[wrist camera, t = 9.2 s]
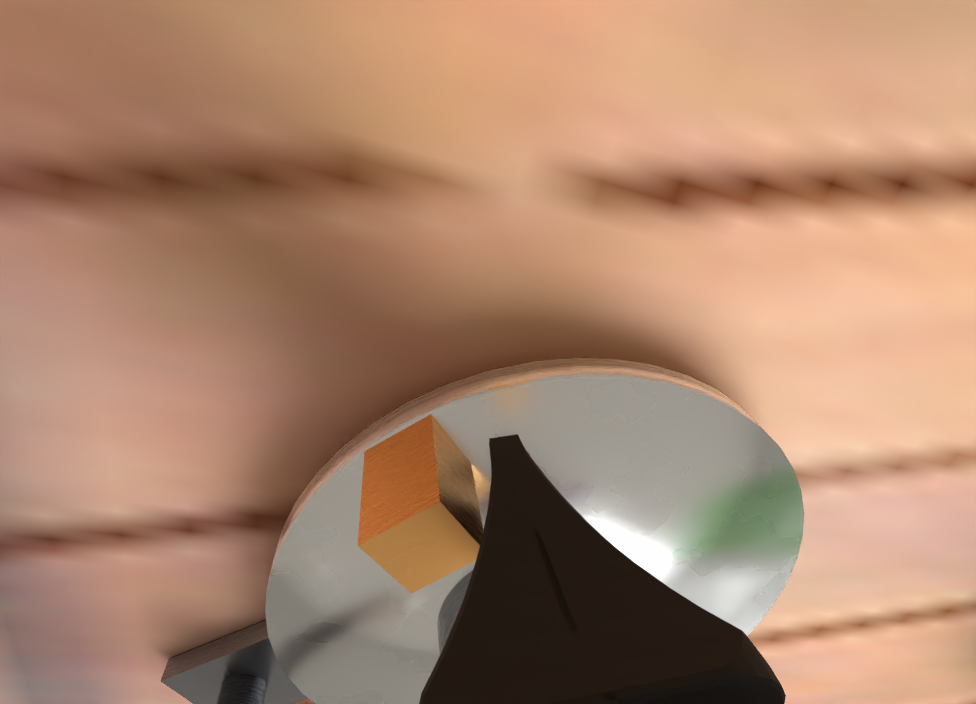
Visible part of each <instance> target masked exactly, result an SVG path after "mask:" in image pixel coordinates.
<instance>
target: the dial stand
mask: <svg viewBox="0 0 976 704" xmlns="http://www.w3.org/2000/svg"><path fill="white" fill-rule="evenodd" d="M161 682H163V683H164V684H166V685H167V686H169V687H170V688H171V689H173V690H174V691H176V692H177V693H179V694H180V695H182V696H183V697H184V698H186V699H187V700H189V701H190V702H192V703H193V704H293V703H295V702H298V701H301V700H303V699H306V698H307V697H306V696H305V695H304V694H303V693H302V692H301V691H300V690H299V689H298V688H297V687H296V686H295V684H294V683H293V682H292V681H291V680H290V679H289V678H288V677H287V675H286V673H285V672H284V670H283V668H282V667H281V665H280V663H279V662H278V660H277V659H276V657H275V654H274V651H273V648H272V645H271V643H270V640H269V637H268V632H267V624H266V620H265V621H262V622H260V623H257V624H255V625H252V626H250V627H247V628H245V629H242V630H240V631H237V632H235V633H232V634H230V635H227V636H225V637H222V638H220V639H217V640H215V641H212V642H210V643H207V644H205V645H202V646H200V647H197V648H195V649H192V650H190V651H187V652H185V653H182V654H180V655H177V656H175V657H172V658H170V659H169V660H168V663H167V665H166V668H165V671H164V673H163V676H162V679H161Z"/></svg>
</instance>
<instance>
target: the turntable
mask: <svg viewBox="0 0 976 704" xmlns="http://www.w3.org/2000/svg"><path fill="white" fill-rule="evenodd" d="M515 434H518V436H519V438H520V440H521V442H522V444H523V446H524V448H525V449H526V451H527V452H528V453H529V455H530V456H531V458H532V459H533V460H534V462H535V463H536V464H537V466H538V467H539V468H540V470H541V471H542V472H543V473H544V475H545V476H546V477H547V478H548V480H549V481H550V482H551V483H552V484H553V485H554V486H555V488H556V489H557V490H558V491H559V492H560V493H561V495H562V496H563V497H564V498H565V499H566V500H567V501H568V502H569V503H570V504H571V506H572V507H573V508H574V509H575V510H576V511H577V512H578V513H579V514H580V515H581V516H582V517H583V518H584V519H585V520H586V521H587V522H588V523H589V524H590V525H591V526H593V527H594V528H595V529H596V530H597V531H598V532H599V533H600V534H601V535H602V536H604V537H605V538H606V539H607V540H608V541H609V542H610V543H612V544H613V545H614V546H615V547H616V548H617V549H619V550H620V551H621V552H622V553H624V554H625V555H626V556H627V557H629V558H630V559H631V560H632V561H634V562H635V563H636V564H638V565H639V566H640V567H642V568H643V569H645V570H646V571H647V572H649V573H650V574H652V575H653V576H654V577H656V578H657V579H658V580H660V581H661V582H663V583H664V584H665V585H667V586H668V587H670V588H671V589H673V590H674V591H676V592H677V593H679V594H680V595H682V596H684V597H685V598H687V599H688V600H690V601H691V602H693V603H694V604H696V605H698V606H699V607H701V608H703V609H705V610H706V611H708V612H710V613H712V614H714V615H715V616H717V617H719V618H721V619H722V620H724V621H726V622H728V623H730V624H731V625H733V626H735V627H737V628H739V629H740V630H742V631H743V632H744V633H745V634H746V636H747V635H748V634H749V633H750V632H751V631H752V630H753V629H754V628H755V627H756V626H757V624H758V623H759V622H760V621H761V620H762V619H763V617H764V616H765V615H766V613H767V612H768V611H769V609H770V608H771V607H772V605H773V604H774V603H775V601H776V600H777V598H778V596H779V595H780V593H781V591H782V590H783V588H784V586H785V584H786V583H787V581H788V579H789V577H790V574H791V572H792V569H793V567H794V564H795V562H796V560H797V557H798V553H799V548H800V544H801V540H802V536H803V521H804V509H803V501H802V494H801V489H800V486H799V483H798V480H797V478H796V475H795V472H794V469H793V467H792V466H791V464H790V462H789V461H788V459H787V458H786V456H785V454H784V453H783V451H782V450H781V448H780V447H779V446H778V444H777V443H776V442H775V441H774V440H773V439H772V438H771V437H770V436H769V435H768V434H767V433H766V432H765V431H764V430H763V429H762V428H761V427H760V426H759V425H758V424H757V423H756V422H755V421H754V420H753V419H752V418H751V417H750V416H749V415H748V414H747V413H746V412H745V411H744V410H743V409H742V408H741V406H740V405H738V404H737V403H735V402H734V401H733V400H731V399H730V398H728V397H727V396H725V395H724V394H723V393H721V392H720V391H718V390H717V389H716V388H713V387H711V386H709V385H707V384H705V383H703V382H701V381H699V380H697V379H695V378H693V377H690V376H688V375H686V374H683V373H679V372H676V371H673V370H669V369H666V368H663V367H659V366H656V365H652V364H646V363H640V362H633V361H627V360H621V359H606V358H565V359H554V360H542V361H532V362H527V363H523V364H518V365H513V366H508V367H503V368H498V369H493V370H489V371H486V372H483V373H480V374H477V375H473V376H470V377H467V378H464V379H461V380H458V381H455V382H452V383H449V384H446V385H444V386H442V387H440V388H437V389H435V390H433V391H431V392H429V393H426V394H424V395H422V396H420V397H417V398H415V399H413V400H411V401H409V402H407V403H405V404H404V405H402V406H400V407H399V408H397V409H395V410H394V411H392V412H390V413H389V414H387V415H385V416H384V417H382V418H380V419H378V420H377V421H375V422H374V423H372V424H371V425H370V426H368V427H367V428H366V429H364V430H363V431H362V432H361V433H359V434H358V435H357V436H355V437H354V438H353V439H352V440H350V441H349V442H348V443H346V444H345V445H344V446H342V448H341V449H340V450H339V451H338V452H337V453H336V454H335V455H334V456H333V457H332V458H331V459H330V460H329V461H328V462H327V463H326V464H325V465H324V466H323V467H322V468H321V469H320V470H319V471H318V472H317V473H316V474H315V476H314V477H313V478H312V480H311V481H310V482H309V484H308V485H307V486H306V488H305V489H304V490H303V492H302V493H301V495H300V496H299V497H298V499H297V500H296V502H295V504H294V506H293V508H292V510H291V512H290V514H289V516H288V518H287V520H286V522H285V524H284V525H283V528H282V531H281V534H280V538H279V541H278V544H277V548H276V551H275V554H274V559H273V563H272V567H271V571H270V575H269V580H268V584H267V593H266V604H265V616H266V624H267V632H268V637H269V640H270V643H271V645H272V648H273V651H274V654H275V657H276V659H277V660H278V662H279V663H280V665H281V667H282V668H283V670H284V672H285V673H286V675H287V677H288V678H289V679H290V680H291V681H292V682H293V683H294V684H295V686H296V687H297V688H298V689H299V690H300V691H301V692H302V693H303V694H304V695H305V696H306V697H307V698H309V699H310V700H311V701H313V702H314V703H315V704H419V702H420V698H421V693H422V691H423V689H424V687H425V685H426V683H427V681H428V679H429V677H430V675H431V673H432V671H433V669H434V667H435V665H436V663H437V661H438V659H439V657H440V655H439V642H438V627H437V621H438V615H439V612H440V609H441V606H442V604H443V602H444V600H445V599H446V597H447V595H448V594H449V593H450V591H451V590H452V589H453V587H454V586H455V585H456V584H457V583H458V582H459V581H460V580H461V579H462V578H463V577H465V576H466V575H467V574H468V573H470V572H471V571H472V570H473V569H474V566H475V562H476V559H477V555H478V551H479V548H480V544H481V539H482V535H483V530H484V525H485V520H486V515H487V510H488V504H489V496H490V487H491V474H492V469H491V459H490V448H489V442H490V441H489V439H490V438H496V437H503V436H509V435H515Z"/></svg>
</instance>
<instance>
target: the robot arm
mask: <svg viewBox="0 0 976 704" xmlns="http://www.w3.org/2000/svg"><path fill="white" fill-rule="evenodd" d="M489 441H490V442H489V448H490V459H491V469H492V474H491V487H490V496H489V504H488V510H487V515H486V520H485V525H484V530H483V535H482V539H481V544H480V548H479V551H478V555H477V559H476V562H475V566H474V569H473V572H472V575H471V578H470V581H469V584H468V587H467V591H466V594H465V596H464V599H463V602H462V605H461V607H460V610H459V612H458V615H457V617H456V620H455V622H454V624H453V627H452V629H451V632H450V634H449V636H448V639H447V641H446V644H445V646H444V648H443V650H442V652H441V655H440V657H439V659H438V661H437V663H436V665H435V667H434V669H433V671H432V673H431V675H430V677H429V679H428V681H427V683H426V685H425V687H424V689H423V691H422V693H421V698H420V702H419V704H784V702H785V696H786V695H785V693H784V690H783V688H782V686H781V684H780V682H779V681H778V679H777V677H776V676H775V674H774V672H773V671H772V669H771V668H770V666H769V665H768V663H767V662H766V661H765V659H764V658H763V657H762V655H761V654H760V653H759V651H758V650H757V649H756V647H755V646H754V645H753V643H752V642H751V641H750V639H749V638H748V637H747V636H746V634H745V633H744V632H743V631H742V630H740V629H739V628H737V627H735V626H733V625H731V624H730V623H728V622H726V621H724V620H722V619H721V618H719V617H717V616H715V615H714V614H712V613H710V612H708V611H706V610H705V609H703V608H701V607H699V606H698V605H696V604H694V603H693V602H691V601H690V600H688V599H687V598H685V597H684V596H682V595H680V594H679V593H677V592H676V591H674V590H673V589H671V588H670V587H668V586H667V585H665V584H664V583H663V582H661V581H660V580H658V579H657V578H656V577H654V576H653V575H652V574H650V573H649V572H647V571H646V570H645V569H643V568H642V567H640V566H639V565H638V564H636V563H635V562H634V561H632V560H631V559H630V558H629V557H627V556H626V555H625V554H624V553H622V552H621V551H620V550H619V549H617V548H616V547H615V546H614V545H613V544H612V543H610V542H609V541H608V540H607V539H606V538H605V537H604V536H602V535H601V534H600V533H599V532H598V531H597V530H596V529H595V528H594V527H593V526H591V525H590V524H589V523H588V522H587V521H586V520H585V519H584V518H583V517H582V516H581V515H580V514H579V513H578V512H577V511H576V510H575V509H574V508H573V507H572V506H571V504H570V503H569V502H568V501H567V500H566V499H565V498H564V497H563V496H562V495H561V493H560V492H559V491H558V490H557V489H556V488H555V486H554V485H553V484H552V483H551V482H550V481H549V480H548V478H547V477H546V476H545V475H544V473H543V472H542V471H541V470H540V468H539V467H538V466H537V464H536V463H535V462H534V460H533V459H532V458H531V456H530V455H529V453H528V452H527V451H526V449H525V448H524V446H523V444H522V442H521V440H520V438H519V436H518V434H515V435H509V436H503V437H496V438H490V439H489Z"/></svg>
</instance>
